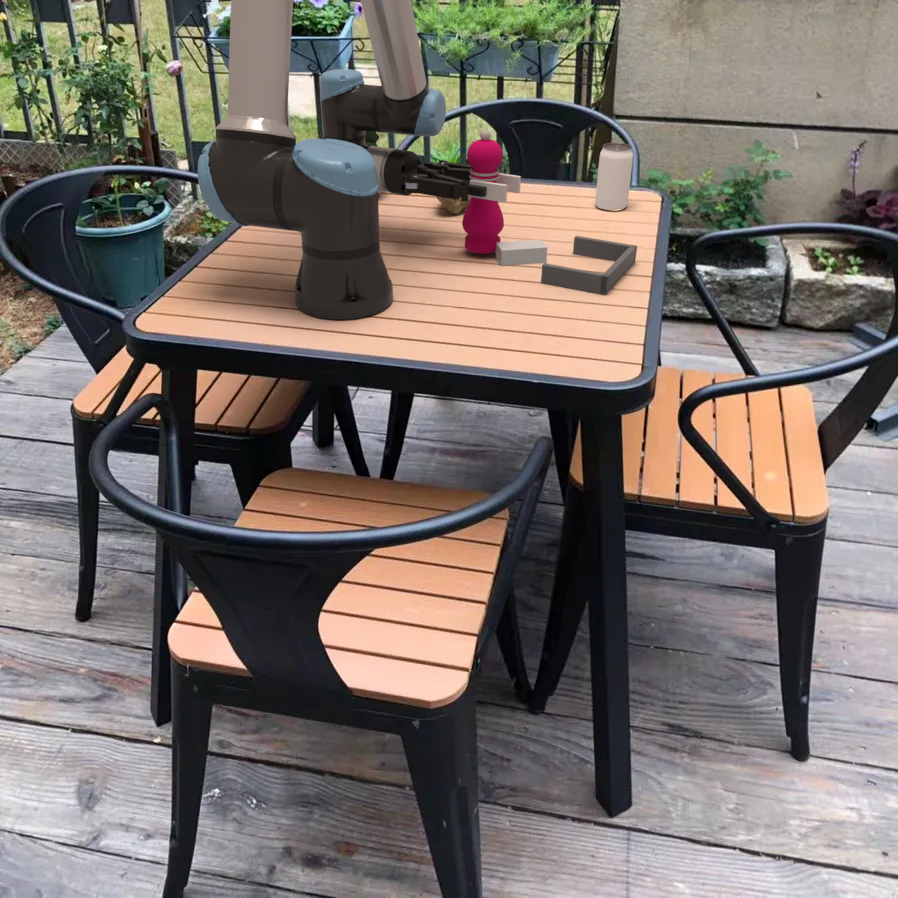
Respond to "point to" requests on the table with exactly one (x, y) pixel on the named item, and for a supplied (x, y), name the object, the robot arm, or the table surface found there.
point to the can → (614, 176)
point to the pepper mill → (483, 214)
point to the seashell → (454, 204)
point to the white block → (521, 252)
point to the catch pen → (586, 279)
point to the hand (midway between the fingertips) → (512, 189)
